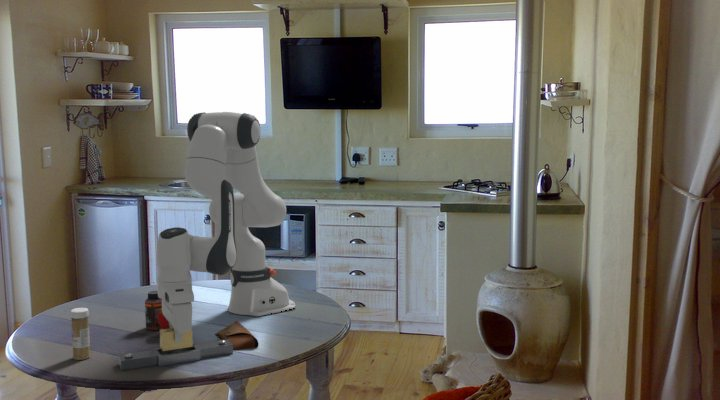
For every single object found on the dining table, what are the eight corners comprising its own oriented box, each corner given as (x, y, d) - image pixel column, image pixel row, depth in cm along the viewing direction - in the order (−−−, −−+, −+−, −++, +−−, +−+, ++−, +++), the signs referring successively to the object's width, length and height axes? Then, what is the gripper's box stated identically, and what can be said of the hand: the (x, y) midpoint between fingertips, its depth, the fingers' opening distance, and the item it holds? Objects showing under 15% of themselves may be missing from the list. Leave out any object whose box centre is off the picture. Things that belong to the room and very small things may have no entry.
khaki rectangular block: (190, 343, 197) (189, 325, 196) (192, 346, 194) (192, 328, 193) (160, 347, 193) (159, 329, 192) (162, 351, 190) (161, 332, 190)
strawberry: (176, 329, 219) (175, 297, 218) (179, 337, 212) (178, 304, 211) (156, 331, 217) (155, 299, 216) (159, 339, 210) (158, 306, 209)
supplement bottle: (170, 326, 222) (169, 290, 221) (157, 331, 217) (155, 295, 215) (154, 324, 225) (153, 288, 223) (141, 329, 219) (140, 293, 218)
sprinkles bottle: (69, 357, 194) (67, 309, 193) (85, 353, 198) (83, 306, 196) (78, 361, 191) (75, 312, 190) (94, 357, 195) (91, 309, 193)
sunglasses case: (211, 333, 215) (222, 313, 216) (231, 342, 219) (242, 322, 219) (230, 352, 199) (241, 330, 200) (251, 361, 203) (262, 339, 204)
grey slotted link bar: (226, 346, 204) (226, 336, 203) (234, 354, 197) (233, 343, 197) (118, 363, 191) (117, 351, 190) (122, 371, 184) (121, 360, 184)
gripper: (155, 282, 199) (156, 330, 201) (170, 299, 181) (172, 352, 183) (178, 279, 202) (179, 327, 204) (195, 297, 184) (197, 349, 186)
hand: (176, 339), depth 193 cm, fingers closed on khaki rectangular block, 3 cm apart
